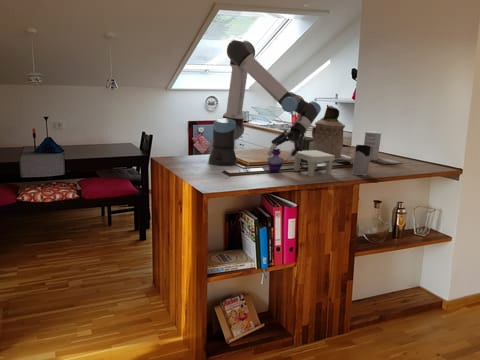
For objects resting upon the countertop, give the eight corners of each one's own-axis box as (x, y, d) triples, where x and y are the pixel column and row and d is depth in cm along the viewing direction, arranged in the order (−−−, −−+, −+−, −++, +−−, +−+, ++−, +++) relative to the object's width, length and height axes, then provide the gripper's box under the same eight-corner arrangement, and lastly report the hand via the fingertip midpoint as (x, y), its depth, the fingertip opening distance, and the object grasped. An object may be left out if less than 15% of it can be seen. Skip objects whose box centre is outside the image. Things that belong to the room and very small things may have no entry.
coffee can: (299, 164, 255) (301, 139, 252) (291, 160, 265) (293, 136, 261) (315, 164, 259) (318, 139, 256) (306, 160, 268) (309, 136, 265)
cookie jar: (352, 160, 276) (359, 107, 268) (315, 160, 270) (320, 105, 262) (335, 152, 299) (340, 103, 291) (299, 152, 293) (304, 101, 285)
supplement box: (377, 160, 280) (381, 133, 276) (361, 159, 283) (365, 132, 278) (377, 158, 289) (381, 131, 284) (362, 156, 291) (366, 130, 287)
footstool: (309, 176, 228) (311, 157, 226) (292, 169, 241) (293, 151, 238) (332, 174, 236) (335, 155, 233) (314, 168, 248) (316, 150, 246)
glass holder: (348, 173, 241) (351, 145, 237) (362, 170, 251) (365, 143, 247) (362, 176, 235) (366, 148, 231) (376, 173, 245) (380, 146, 241)
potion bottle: (286, 172, 235) (288, 149, 232) (276, 174, 229) (278, 150, 226) (273, 168, 240) (275, 146, 237) (262, 171, 234) (264, 147, 231)
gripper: (321, 135, 232) (299, 166, 226) (286, 128, 250) (264, 157, 244) (315, 125, 227) (292, 157, 221) (280, 118, 245) (257, 148, 239)
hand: (277, 157), depth 233 cm, fingers open, 13 cm apart
